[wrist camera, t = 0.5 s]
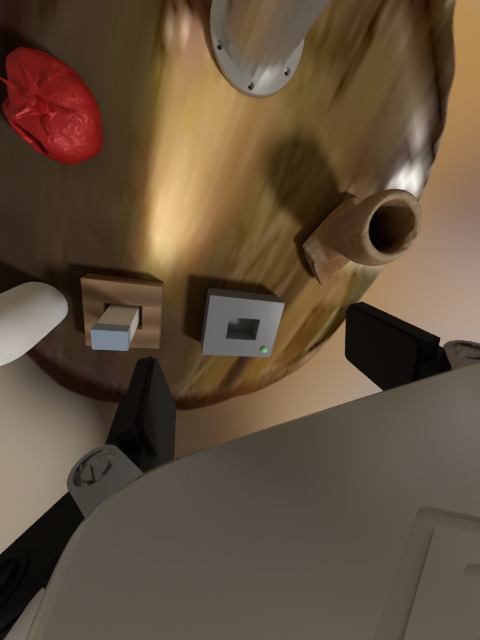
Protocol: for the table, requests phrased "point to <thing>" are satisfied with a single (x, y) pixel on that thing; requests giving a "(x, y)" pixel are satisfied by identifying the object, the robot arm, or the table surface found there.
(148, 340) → the slotted socket block
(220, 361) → the table surface
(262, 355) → the port block
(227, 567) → the robot arm
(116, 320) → the plug
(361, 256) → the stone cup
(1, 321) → the milk bottle
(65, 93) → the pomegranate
